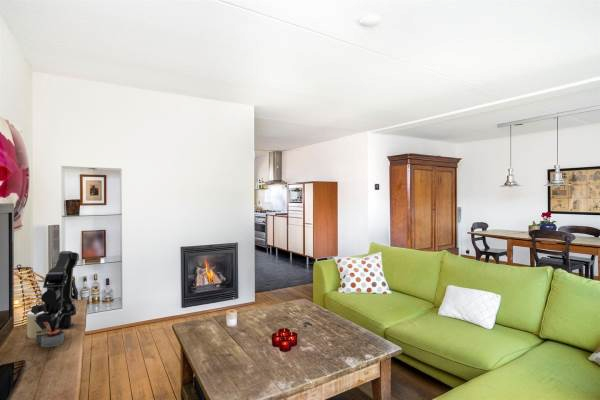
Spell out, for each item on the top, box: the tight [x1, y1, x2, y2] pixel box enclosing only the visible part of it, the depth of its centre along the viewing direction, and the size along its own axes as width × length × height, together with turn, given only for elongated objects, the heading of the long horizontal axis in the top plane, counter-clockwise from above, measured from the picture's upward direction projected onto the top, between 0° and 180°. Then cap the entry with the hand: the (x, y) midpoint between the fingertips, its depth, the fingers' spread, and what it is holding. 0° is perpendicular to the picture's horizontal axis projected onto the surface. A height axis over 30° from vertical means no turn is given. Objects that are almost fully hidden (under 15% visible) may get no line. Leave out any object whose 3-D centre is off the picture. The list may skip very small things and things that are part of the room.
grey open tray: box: [35, 330, 65, 348], centre depth 154 cm, size 8×11×4 cm
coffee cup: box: [26, 310, 50, 339], centre depth 163 cm, size 9×9×12 cm
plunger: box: [47, 329, 60, 335], centre depth 154 cm, size 4×4×5 cm
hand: (53, 330), depth 154 cm, fingers closed, pressing on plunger
